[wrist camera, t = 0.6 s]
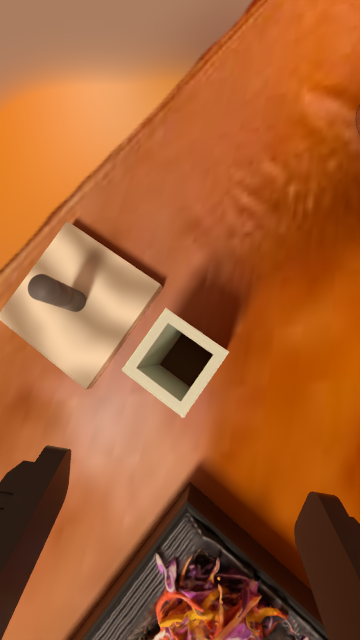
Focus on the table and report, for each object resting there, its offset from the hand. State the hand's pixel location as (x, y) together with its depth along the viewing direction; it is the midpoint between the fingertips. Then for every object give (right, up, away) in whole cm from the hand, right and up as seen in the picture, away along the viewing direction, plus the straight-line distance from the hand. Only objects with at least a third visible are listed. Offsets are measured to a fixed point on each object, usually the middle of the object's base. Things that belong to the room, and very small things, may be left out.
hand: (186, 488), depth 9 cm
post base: (-13, +8, +26) cm, 30 cm away
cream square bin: (+1, +1, +23) cm, 23 cm away
